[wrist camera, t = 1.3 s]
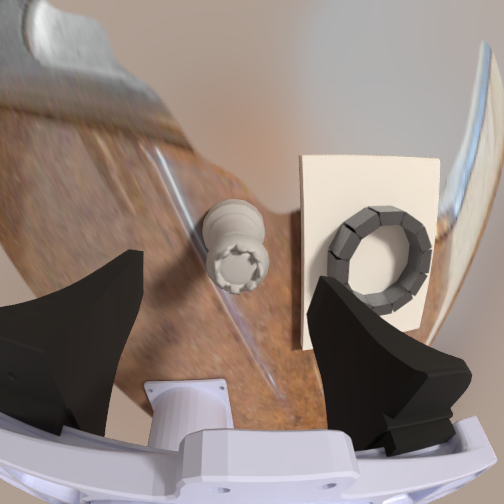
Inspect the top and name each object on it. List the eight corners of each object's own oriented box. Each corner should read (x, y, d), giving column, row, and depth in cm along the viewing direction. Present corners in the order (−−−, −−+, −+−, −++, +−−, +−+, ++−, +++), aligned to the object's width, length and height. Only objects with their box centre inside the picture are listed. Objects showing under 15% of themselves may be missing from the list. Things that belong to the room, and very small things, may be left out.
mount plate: (414, 322, 27) (418, 328, 26) (300, 343, 26) (302, 350, 26) (433, 158, 22) (439, 159, 21) (298, 155, 21) (302, 155, 20)
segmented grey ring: (411, 296, 25) (422, 307, 23) (325, 310, 24) (332, 323, 22) (422, 204, 22) (436, 209, 20) (328, 208, 22) (337, 214, 20)
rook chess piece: (273, 210, 22) (298, 244, 15) (250, 264, 24) (263, 321, 16) (214, 188, 21) (209, 213, 14) (194, 245, 23) (181, 296, 15)
